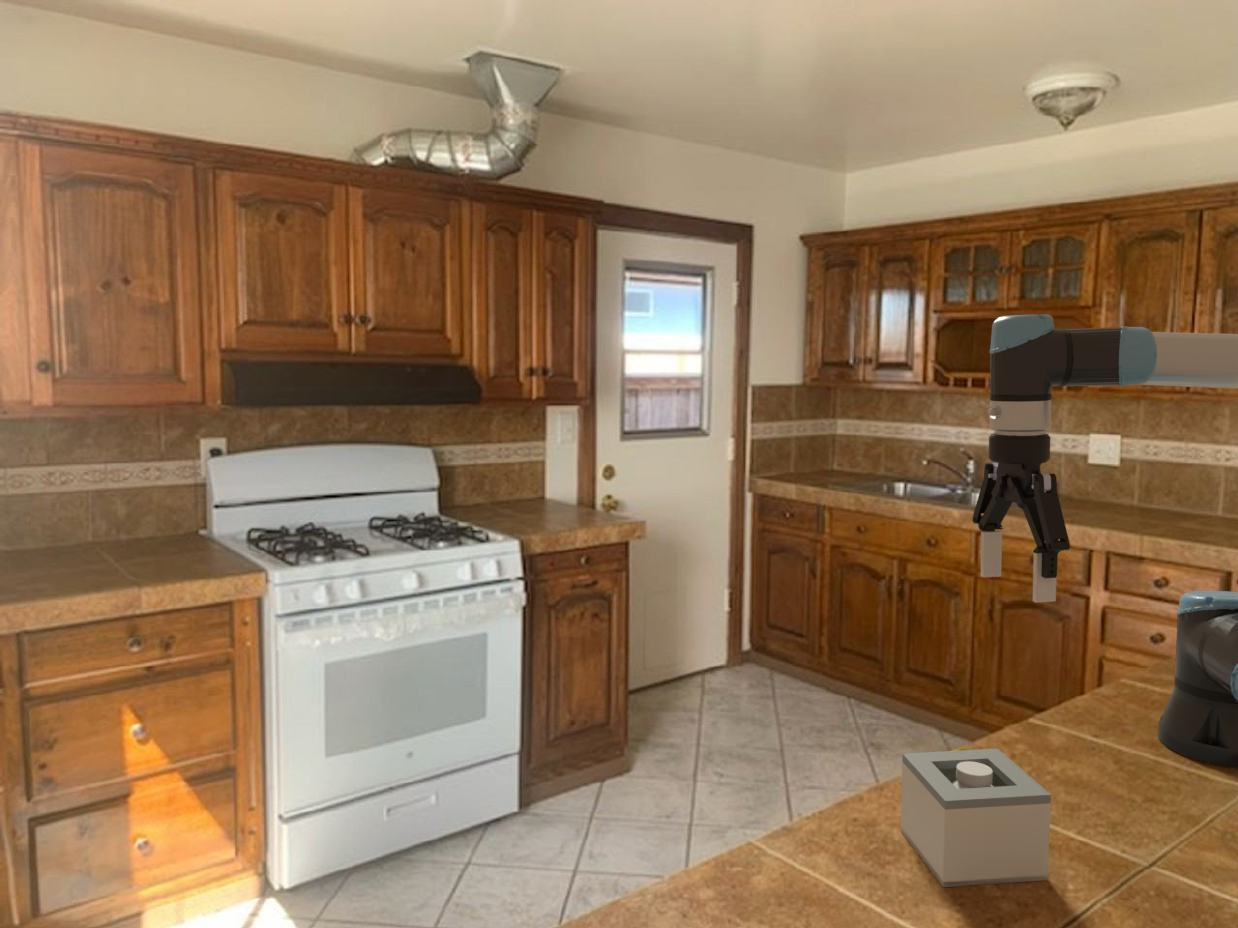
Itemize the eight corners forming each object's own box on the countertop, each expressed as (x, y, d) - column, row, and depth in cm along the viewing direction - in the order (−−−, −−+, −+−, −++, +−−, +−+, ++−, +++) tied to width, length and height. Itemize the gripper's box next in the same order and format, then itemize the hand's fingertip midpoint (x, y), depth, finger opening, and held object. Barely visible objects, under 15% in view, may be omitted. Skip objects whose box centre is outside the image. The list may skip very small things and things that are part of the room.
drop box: (995, 825, 114) (997, 748, 113) (1047, 879, 102) (1050, 794, 101) (901, 831, 113) (902, 753, 112) (943, 886, 101) (945, 800, 100)
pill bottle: (974, 864, 104) (977, 781, 103) (937, 843, 109) (939, 764, 108) (1007, 852, 107) (1009, 771, 106) (969, 832, 111) (972, 755, 110)
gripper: (949, 426, 134) (947, 568, 137) (1045, 441, 110) (1041, 615, 112) (998, 424, 135) (995, 566, 137) (1104, 439, 110) (1099, 611, 113)
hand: (1016, 588), depth 125 cm, fingers open, 13 cm apart
